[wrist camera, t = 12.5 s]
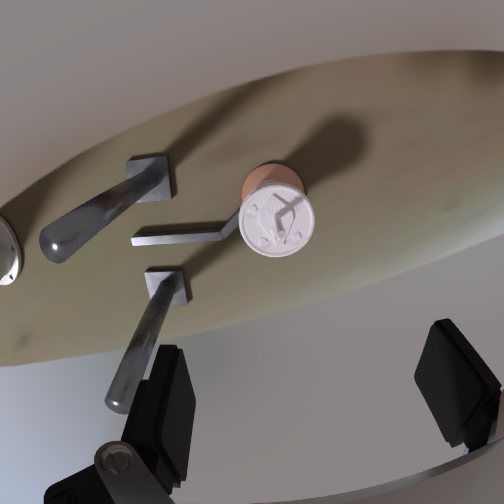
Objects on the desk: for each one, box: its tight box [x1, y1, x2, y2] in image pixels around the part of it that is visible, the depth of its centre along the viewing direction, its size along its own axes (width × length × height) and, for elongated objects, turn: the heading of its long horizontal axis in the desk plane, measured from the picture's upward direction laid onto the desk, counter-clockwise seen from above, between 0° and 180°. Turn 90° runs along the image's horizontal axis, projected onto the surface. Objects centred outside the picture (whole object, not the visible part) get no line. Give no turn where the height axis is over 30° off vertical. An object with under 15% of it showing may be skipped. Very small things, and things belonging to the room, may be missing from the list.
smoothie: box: [239, 179, 315, 257], centre depth 28 cm, size 6×6×14 cm
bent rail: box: [131, 207, 240, 246], centre depth 35 cm, size 14×3×2 cm, turn 93°
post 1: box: [39, 155, 173, 263], centre depth 25 cm, size 5×5×20 cm
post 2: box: [105, 269, 189, 414], centre depth 30 cm, size 5×5×20 cm
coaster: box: [242, 163, 304, 202], centre depth 34 cm, size 7×7×1 cm
